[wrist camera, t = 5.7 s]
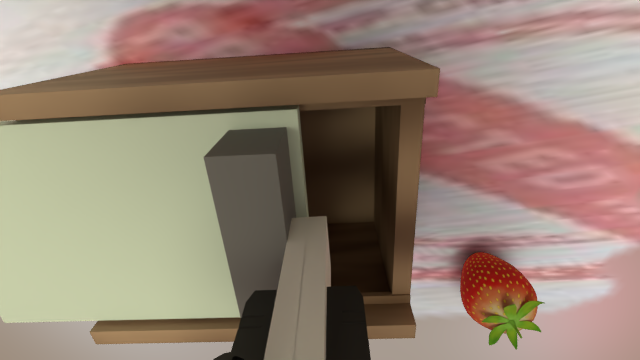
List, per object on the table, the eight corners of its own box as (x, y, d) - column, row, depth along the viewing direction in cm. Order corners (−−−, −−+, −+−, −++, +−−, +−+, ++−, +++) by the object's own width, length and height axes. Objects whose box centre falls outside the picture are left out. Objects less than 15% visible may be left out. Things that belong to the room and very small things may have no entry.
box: (125, 63, 23) (-34, 96, 13) (389, 47, 22) (439, 68, 12) (176, 232, 29) (95, 344, 19) (384, 225, 28) (414, 338, 18)
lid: (-102, 126, 15) (-233, 158, 11) (298, 104, 14) (288, 132, 10) (16, 311, 20) (-50, 372, 16) (316, 304, 19) (313, 367, 15)
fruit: (517, 257, 29) (579, 336, 22) (470, 290, 31) (513, 373, 23) (478, 224, 27) (531, 296, 20) (431, 260, 29) (464, 339, 22)
